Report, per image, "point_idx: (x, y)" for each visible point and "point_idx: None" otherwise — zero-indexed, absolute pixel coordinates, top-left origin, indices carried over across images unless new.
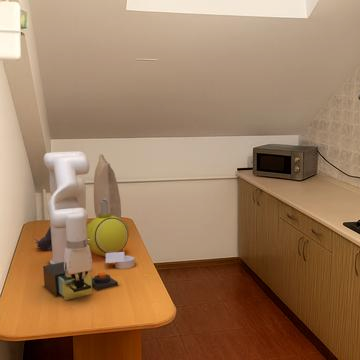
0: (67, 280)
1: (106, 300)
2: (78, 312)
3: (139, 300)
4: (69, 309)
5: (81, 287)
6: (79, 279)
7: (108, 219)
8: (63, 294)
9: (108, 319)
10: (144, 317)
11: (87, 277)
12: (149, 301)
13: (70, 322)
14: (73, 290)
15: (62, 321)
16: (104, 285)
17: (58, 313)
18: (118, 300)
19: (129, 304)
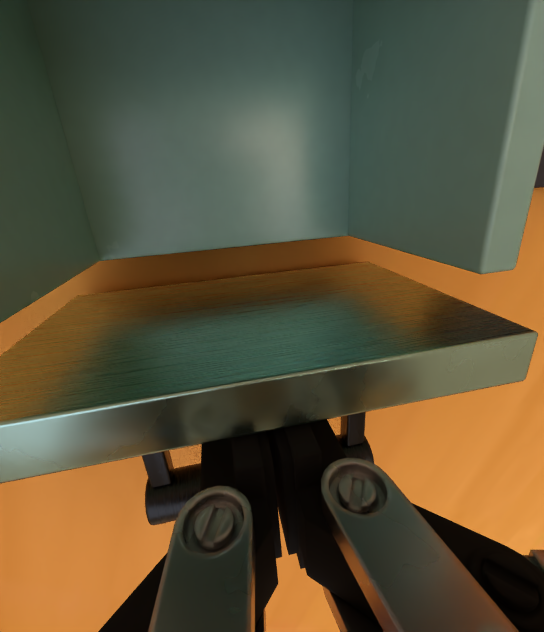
0: (33, 426)
1: (387, 421)
2: (167, 526)
3: (508, 485)
4: (114, 468)
5: None
6: (284, 502)
7: None
8: (53, 316)
9: (285, 622)
10: None
11: (451, 388)
12: (527, 509)
13: (95, 621)
14: (150, 501)
15: (46, 605)
16: (536, 187)
17: (20, 504)
18: (438, 448)
19: (445, 512)
